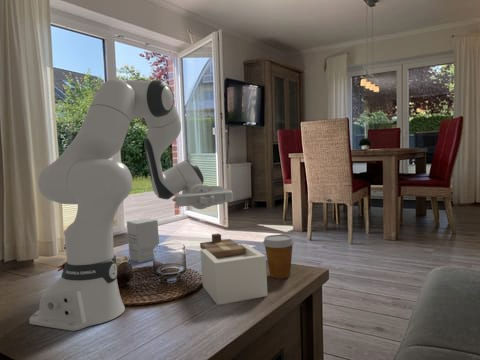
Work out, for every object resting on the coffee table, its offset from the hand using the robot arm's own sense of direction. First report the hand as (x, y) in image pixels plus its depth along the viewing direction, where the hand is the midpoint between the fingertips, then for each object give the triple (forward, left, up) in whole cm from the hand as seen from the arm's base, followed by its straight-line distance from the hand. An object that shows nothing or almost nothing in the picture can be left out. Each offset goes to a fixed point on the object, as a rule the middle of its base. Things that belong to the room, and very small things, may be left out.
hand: (209, 200), depth 127 cm
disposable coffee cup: (+23, -4, -24) cm, 33 cm away
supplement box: (-31, +15, -24) cm, 42 cm away
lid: (+6, -10, -14) cm, 18 cm away
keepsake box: (+11, -18, -24) cm, 32 cm away
